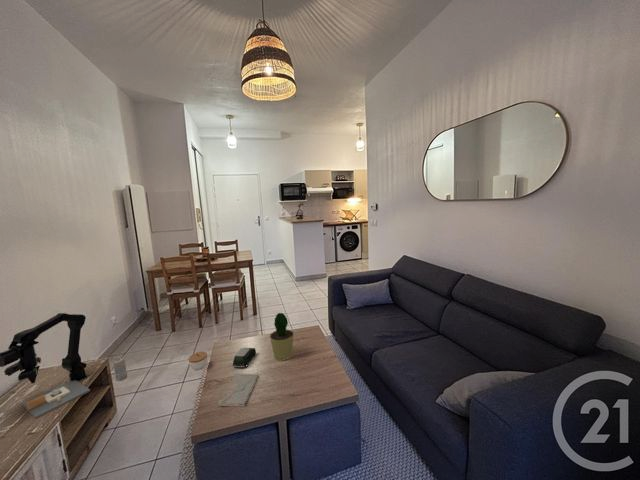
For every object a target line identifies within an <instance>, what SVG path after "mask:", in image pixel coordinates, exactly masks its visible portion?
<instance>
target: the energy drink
mask: <svg viewBox="0 0 640 480" xmlns="http://www.w3.org/2000/svg"><path fill="white" fill-rule="evenodd" d="M113 368H114V374H115V380H116V382H123V381H124V380H126V379H127V378H128V372H127V366H126V360H125V358H124V357H119V358H116V359H114V360H113Z"/></svg>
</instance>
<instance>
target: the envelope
mask: <svg viewBox="0 0 640 480" xmlns="http://www.w3.org/2000/svg"><path fill="white" fill-rule="evenodd" d="M238 375H239V377H238ZM240 376H241V377H240ZM257 377H258V378H259V374H258V373H246V374H245V373H244V374H243V373H242V374H241V373H239V374H237V373H236V374H235V375H234V376H233V377H232V379H231V381H230V383H229V384H228V386H227V387H226V389H227V388H228V387H229V386H230V384H231V383H232V381H233V380H234V378H235V381H236V384H237V386H235V387H234V391H233V392H231V393H230V394H228V395H227V396H226V397H224V398H223V399H221V398H220V399H221V400H220V399H219V400H218V402H217V403H218V404H239V405H244V404H245V402H246V400H247V398H248V396H249V394H250V391H251V389H252V387H253V385H254V383H255V381H256V382H257V380H258V378H257ZM239 378H240V379H239ZM256 379H257V380H256ZM255 384H256V383H255ZM254 386H255V385H254ZM253 388H254V387H253ZM226 389H225V391H224V392H223V394H225V393H226V391H227V390H226ZM252 390H253V389H252ZM251 392H252V391H251ZM232 394H234V395H232ZM231 395H232V396H231ZM250 395H251V394H250ZM230 396H231V397H233V398H231V399H229V400H228V401H226V403H221V402H223V401H224V400H225V399H227V398H228V397H230ZM249 397H250V396H249ZM248 399H249V398H248ZM247 401H248V400H247ZM246 403H247V402H246ZM245 405H246V404H245Z"/></svg>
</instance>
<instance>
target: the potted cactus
mask: <svg viewBox="0 0 640 480" xmlns="http://www.w3.org/2000/svg"><path fill="white" fill-rule="evenodd" d="M274 317H275V318H274V320H273V326H274V327H275V328H274V329H275V330H274V331H273V332H271V333H270V335H269V339H270V343H271V346H272V347H271V348H272V351H273V356H274V358H276V359H278V360H277V361H279V360H284V359H287V358H289V357H290V356H291V355H293V344H294V332H293V331H292V330H290V329H287V327H288V326H289V320H288V318H287V317H288V315H286V314H285V312H284V313H282V312H278V313H276V314H275V316H274ZM291 357H292V356H291ZM276 359H275V360H276ZM289 359H290V358H289ZM287 360H288V359H287ZM284 361H285V360H284Z"/></svg>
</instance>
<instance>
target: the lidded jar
mask: <svg viewBox="0 0 640 480" xmlns="http://www.w3.org/2000/svg"><path fill="white" fill-rule="evenodd" d="M187 360H188V364H189V367H190V368H191V369H193V370H194V371H201V370H203V369H204V368H205V366H206V364H207V363H208V353H207V352H206V351H197V352H194V353H192V354H191V355H190V356H189V357H188V359H187Z"/></svg>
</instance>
